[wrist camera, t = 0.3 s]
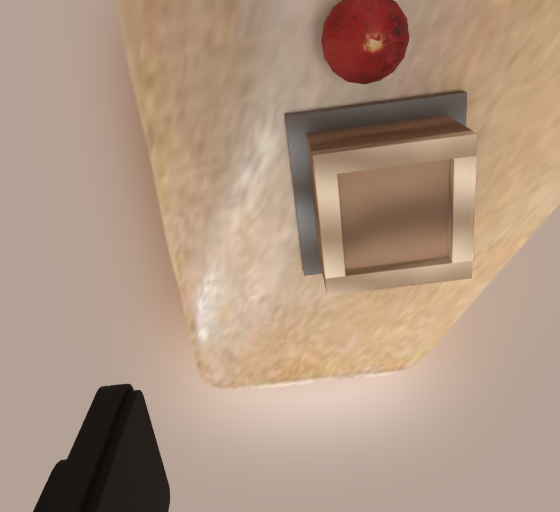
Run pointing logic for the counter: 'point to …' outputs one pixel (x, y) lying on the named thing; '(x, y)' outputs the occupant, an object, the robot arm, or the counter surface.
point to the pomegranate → (365, 39)
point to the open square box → (385, 192)
